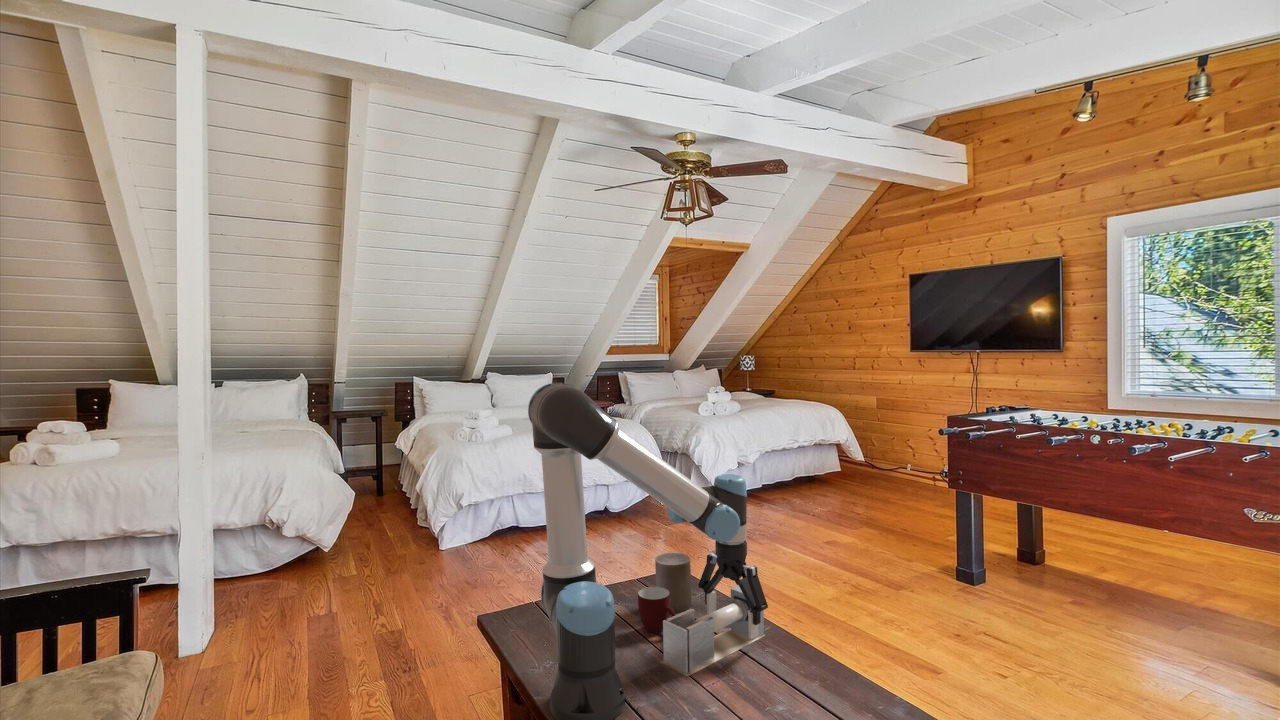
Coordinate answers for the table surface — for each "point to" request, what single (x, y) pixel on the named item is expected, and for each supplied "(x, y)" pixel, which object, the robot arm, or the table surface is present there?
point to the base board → (725, 646)
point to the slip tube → (728, 614)
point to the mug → (654, 608)
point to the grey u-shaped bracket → (688, 642)
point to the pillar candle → (675, 579)
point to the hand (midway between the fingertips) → (732, 627)
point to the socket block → (744, 625)
